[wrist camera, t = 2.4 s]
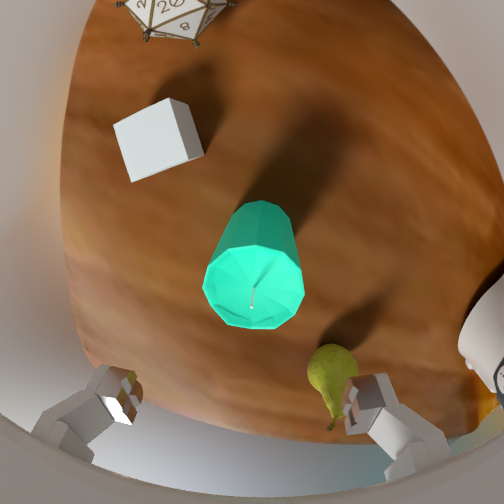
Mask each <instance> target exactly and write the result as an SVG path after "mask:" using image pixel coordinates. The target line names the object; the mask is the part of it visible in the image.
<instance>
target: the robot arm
mask: <svg viewBox="0 0 504 504" xmlns="http://www.w3.org/2000/svg"><path fill="white" fill-rule="evenodd" d="M458 349H459V352H460V354H461V355H462V356H464V357H465V358H466V365H467V367H468V368H469V369H474V370H475V371H476V373H477V374H478V375H479V376H480V378H481V379H482V380H483V382H484V383H485V384H486V386H487V387H488V388H489V389H490V391H491V392H494V393H496V392H497V399H498V401H499V403H500V404H501V405H500V406H501V408H502V409H503V410H504V274H503V276H502V277H501V278H500V279H499V280H498V281H497V282H496V283H495V284H494V285H493V286H492V287H491V288H490V289H489V290H488V291H487V292H486V293H485V294H484V295H483V296H482V297H481V298H480V300H479V301H478V302H477V304H476V305H475V306H474V308H473V309H472V311H471V313H470V314H469V316H468V318H467V319H466V321H465V323H464V325H463V328H462V330H461V333H460V336H459V341H458ZM136 378H137V375H136V373H135V371H131V370H127V369H122V368H118V367H113V366H109V365H104V364H101V365H100V366H99V367H98V368H97V370H96V372H95V373H94V375H93V377H92V378H91V380H90V382H89V383H88V385H87V387H86V388H85V390H84V391H83V390H81V391H79V392H77V393H76V394H74V395H72V396H70V397H69V398H67V399H65V400H63V401H62V402H60V403H58V404H57V405H55V406H53V407H51V408H49V409H47V410H46V411H44V412H43V413H42V415H41V416H40V418H39V420H38V421H37V423H36V425H35V427H34V428H33V430H32V432H31V433H29V432H28V431H26V430H25V429H23V428H21V427H20V426H18V425H17V424H15V423H14V422H12V421H11V420H9V419H8V418H7V417H5V416H4V415H2V414H1V413H0V504H504V430H503V431H501V432H500V433H498V434H496V435H495V436H493V437H491V438H490V439H488V440H486V441H485V442H483V443H481V444H479V445H477V446H476V447H474V448H472V449H470V450H468V451H466V452H464V453H462V454H460V455H458V456H455V457H452V454H451V451H450V449H449V446H448V443H447V441H446V438H445V436H444V433H443V432H442V431H441V430H439V429H438V428H437V427H435V426H434V425H432V424H431V423H429V422H428V421H427V420H425V419H424V418H422V417H421V416H419V415H418V414H417V413H415V412H414V411H412V410H411V409H410V408H408V407H407V406H405V405H404V404H403V403H402V404H399V402H398V400H397V397H396V395H395V392H394V390H393V387H392V385H391V382H390V380H389V378H388V375H387V374H386V373H379V374H373V375H372V374H370V375H364V376H356V377H349V378H348V379H347V381H346V389H345V390H343V393H342V396H341V408H342V413H344V414H345V415H346V416H347V417H346V419H345V421H344V422H345V427H346V432H347V435H353V434H360V433H367V432H368V434H369V435H370V436H371V437H372V438H373V439H374V440H375V441H376V442H377V443H378V444H379V445H380V446H381V447H382V448H383V449H384V450H385V452H387V453H388V454H389V456H391V457H392V458H393V459H394V460H395V461H394V462H393V463H392V464H391V465H390V466H389V467H388V468H387V469H386V470H385V471H384V472H385V476H386V481H387V482H383V483H379V484H375V485H371V486H367V487H363V488H357V489H353V490H347V491H341V492H335V493H328V494H319V495H311V496H300V497H273V498H256V497H255V498H254V497H234V496H222V495H212V494H204V493H197V492H191V491H185V490H179V489H174V488H169V487H164V486H160V485H156V484H152V483H148V482H144V481H141V480H137V479H133V478H130V477H127V476H124V475H121V474H118V473H115V472H112V471H109V470H106V469H104V468H101V467H98V466H96V465H94V464H91V462H92V460H93V457H94V453H93V451H92V450H91V449H90V448H89V447H88V446H87V444H88V443H89V442H91V441H92V440H93V439H94V438H96V437H97V436H98V435H99V434H100V433H102V432H103V431H104V430H105V429H107V428H108V427H109V426H110V425H111V424H112V423H114V421H118V422H123V423H127V424H131V425H132V424H133V421H134V419H135V416H136V414H137V411H136V407H137V406H139V405H140V403H141V401H142V397H143V390H142V386H141V384H140V383H139V382H138V381H137V380H136Z"/></svg>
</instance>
